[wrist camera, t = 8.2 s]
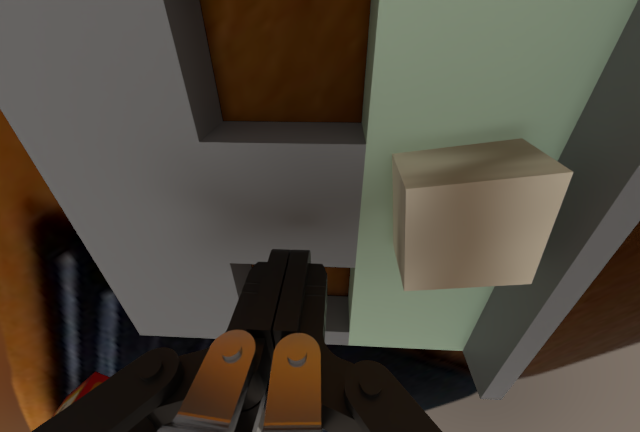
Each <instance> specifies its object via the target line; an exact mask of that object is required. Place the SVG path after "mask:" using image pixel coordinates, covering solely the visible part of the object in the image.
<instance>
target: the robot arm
mask: <svg viewBox="0 0 640 432" xmlns="http://www.w3.org/2000/svg"><path fill="white" fill-rule="evenodd" d="M326 312H327V273H326V270H325V268H324V266H323V264H313V263H311V253H310V250H289V249H272V250H271V252H270V256H269V259H268V262H257V263H256V264H255V265H254V267H253V268H252V269H251V270H250V271H249V273H248V276H247V278H246V281H245V284H244V286H243V289H242V293H241V294H240V297H239V299H238V302H237V305H236V307H235V310H234V313H233V315H232V318H231V321H230V323H229V326H228V328H227V330H226V332H225V333H224V334H222V335H220V336H219V337H218V338H217V339H216V340H215V341H214V342H213V343H212V345H211V346H210V347H209V348H206V349H204V350H201V351H197V352H193V353H190V354H186V355H182V356H178V355H177V354H176V352H175V351H174V350H172V349H169V348H157V349H153V350H151V351H149V352H147V353H145V354H143V355H142V356H140V357H139V358H137V359H136V360H135V361H133V362H132V363H130V364H129V365H127V366H126V367H124V368H123V369H122V370H120V371H119V372H117V373H116V374H114V375H113V376H111V377H110V378H108V379H107V380H106V381H104V382H103V383H101V384H100V385H98V386H97V387H95V388H94V389H93V390H91V391H90V392H88V393H87V394H85V395H84V396H82V397H81V398H80V399H78V400H77V401H75V402H74V403H72V404H71V405H69V406H68V407H67V408H65V409H64V410H62V411H61V412H59V413H58V414H56V415H55V416H53V417H52V418H51V419H49V420H48V421H46V422H45V423H43V424H42V425H40V426H39V427H38V428H36V429H35V430H33V431H32V432H257V428H258V425H259V421H260V417H261V414H262V410H263V407H264V403H265V399H266V395H267V388H266V387H267V382H268V378H269V373H270V371H271V374H270V382H269V389H268V397H267V404H266V411H265V419H264V426H263V431H262V432H322V428H323V429H325V430H327V431H329V432H442V431H441V430H440V429H439V428H438V426H437V425H436V424H435V423H434V422H433V421H432V420H431V418H430V417H429V416H428V415H427V414H426V413H425V411H424V410H423V409H422V408H421V407H420V406H419V405H418V403H417V402H416V401H415V400H414V399H413V398H412V397H411V395H410V394H409V393H408V392H407V391H406V390H405V389H404V387H403V386H402V385H401V384H400V383H399V382H398V381H397V379H396V378H395V377H394V376H393V375H392V374H391V373H390V371H389V370H388V369H387V368H386V367H384V366H383V365H381V364H379V363H377V362H374V361H360V362H358V363H356V364H352V363H350V362H348V361H345V360H343V359H340V358H338V357H337V356H335V355H334V354H333V353H332V352H330V350H329V349H328V348H327V346H326V344H325V329H326Z"/></svg>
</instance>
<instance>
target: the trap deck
mask: <svg viewBox="0 0 640 432" xmlns="http://www.w3.org/2000/svg"><path fill="white" fill-rule="evenodd" d="M0 109H1V110H2V112H3V114H4V115H5V117H6V119H7V120H8V122H9V123H10V125H11V127H12V128H13V130H14V132H15V133H16V135H17V136H18V138H19V140H20V141H21V143H22V144H23V146H24V148H25V149H26V151H27V153H28V154H29V156H30V157H31V159H32V161H33V162H34V164H35V166H36V167H37V169H38V170H39V172H40V174H41V175H42V177H43V178H44V180H45V182H46V183H47V185H48V187H49V188H50V190H51V191H52V193H53V195H54V196H55V198H56V200H57V201H58V203H59V204H60V206H61V208H62V209H63V211H64V212H65V214H66V216H67V217H68V219H69V221H70V222H71V224H72V225H73V227H74V229H75V230H76V232H77V234H78V235H79V237H80V238H81V240H82V242H83V243H84V245H85V246H86V248H87V250H88V251H89V253H90V255H91V256H92V258H93V259H94V261H95V263H96V264H97V266H98V268H99V269H100V271H101V272H102V274H103V276H104V277H105V279H106V280H107V282H108V284H109V285H110V287H111V289H112V290H113V292H114V293H115V295H116V297H117V298H118V300H119V302H120V303H121V305H122V306H123V308H124V310H125V311H126V313H127V314H128V316H129V318H130V319H131V321H132V323H133V324H134V326H135V327H136V329H137V331H138V332H139V334H140V335H151V336H171V337H192V338H212V339H217V338H218V337H219V336H220V335H222V334H224V333H225V332H226V330H227V328H228V326H229V323H230V321H231V318H232V315H233V313H234V310H235V307H236V305H237V302H238V299H239V297H240V294H241V293H242V289H243V286H244V284H245V281H246V278H247V276H248V273H249V271H250V270H251V269H252V267H251V264H256V263H257V262H268V259H269V256H270V252H271V250H272V249H289V250H310V253H311V263H313V264H323V266H324V267H348V268H350V280H349V293H348V297H346V296H327V312H326V329H325V344H334V345H355V346H375V347H395V348H416V349H436V350H456V351H463V353H464V356H465V359H466V361H467V364H468V367H469V369H470V372H471V375H472V377H473V380H474V383H475V386H476V388H477V391H478V394H479V396H480V398H481V399H495V400H501V399H502V398H503V397H504V395H505V394H506V393H507V391H508V390H509V389H510V387H511V386H512V385H513V384H514V382H515V381H516V380H517V379H518V377H519V376H520V375H521V373H522V372H523V371H524V370H525V368H526V367H527V366H528V364H529V363H530V362H531V360H532V359H533V358H534V357H535V355H536V354H537V353H538V351H539V350H540V349H541V348H542V346H543V345H544V344H545V342H546V341H547V340H548V339H549V337H550V336H551V335H552V333H553V332H554V331H555V329H556V328H557V327H558V326H559V324H560V323H561V322H562V320H563V319H564V318H565V317H566V315H567V314H568V313H569V311H570V310H571V309H572V307H573V306H574V305H575V304H576V302H577V301H578V300H579V298H580V297H581V296H582V295H583V293H584V292H585V291H586V289H587V288H588V287H589V286H590V284H591V283H592V282H593V280H594V279H595V278H596V276H597V275H598V274H599V273H600V271H601V270H602V269H603V267H604V266H605V265H606V264H607V262H608V261H609V260H610V258H611V257H612V256H613V254H614V253H615V252H616V251H617V249H618V248H619V247H620V245H621V244H622V243H623V242H624V240H625V239H626V238H627V236H628V235H629V234H630V233H631V231H632V230H633V229H634V227H635V226H636V225H637V223H638V222H639V221H640V0H371V6H370V19H369V33H368V46H367V59H366V72H365V85H364V98H363V111H362V123H341V122H252V121H223V119H222V114H221V109H220V104H219V98H218V93H217V88H216V83H215V78H214V73H213V68H212V63H211V58H210V52H209V47H208V42H207V37H206V32H205V27H204V22H203V17H202V12H201V6H200V1H199V0H0ZM520 138H523V139H524V140H526V141H527V142H529V143H530V144H532V145H533V146H535V147H536V148H538V149H539V150H541V151H542V152H544V153H545V154H547V155H548V156H550V157H552V158H553V159H555V160H556V161H558V162H559V163H561V164H562V165H564V166H565V167H567V168H568V169H570V170H571V171H573V175H572V178H571V180H570V183H569V185H568V188H567V191H566V193H565V196H564V199H563V201H562V204H561V207H560V209H559V212H558V215H557V217H556V220H555V223H554V225H553V228H552V231H551V233H550V236H549V239H548V241H547V244H546V247H545V249H544V252H543V254H542V257H541V260H540V262H539V265H538V268H537V270H536V273H535V276H534V278H533V281H532V284H523V285H506V286H489V287H471V288H454V289H436V290H419V291H404V289H403V284H402V280H401V276H400V272H399V268H398V263H397V259H396V255H395V251H394V247H393V185H392V154H395V153H403V152H411V151H420V150H428V149H436V148H445V147H453V146H461V145H470V144H478V143H487V142H495V141H503V140H512V139H520Z"/></svg>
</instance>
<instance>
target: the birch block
mask: <svg viewBox="0 0 640 432" xmlns="http://www.w3.org/2000/svg"><path fill="white" fill-rule="evenodd" d="M572 175H573V171H571V170H570V169H568V168H567V167H565V166H564V165H562V164H561V163H559V162H558V161H556V160H555V159H553V158H552V157H550V156H548V155H547V154H545V153H544V152H542V151H541V150H539V149H538V148H536V147H535V146H533V145H532V144H530V143H529V142H527V141H526V140H524V139H523V138H520V139H512V140H503V141H495V142H487V143H478V144H470V145H461V146H453V147H445V148H436V149H428V150H420V151H411V152H403V153H395V154H392V185H393V247H394V251H395V255H396V259H397V263H398V268H399V272H400V276H401V280H402V284H403V289H404V291H419V290H436V289H454V288H471V287H489V286H506V285H523V284H532V281H533V278H534V276H535V273H536V270H537V268H538V265H539V262H540V260H541V257H542V254H543V252H544V249H545V247H546V244H547V241H548V239H549V236H550V233H551V231H552V228H553V225H554V223H555V220H556V217H557V215H558V212H559V209H560V207H561V204H562V201H563V199H564V196H565V193H566V191H567V188H568V185H569V183H570V180H571V178H572Z"/></svg>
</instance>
